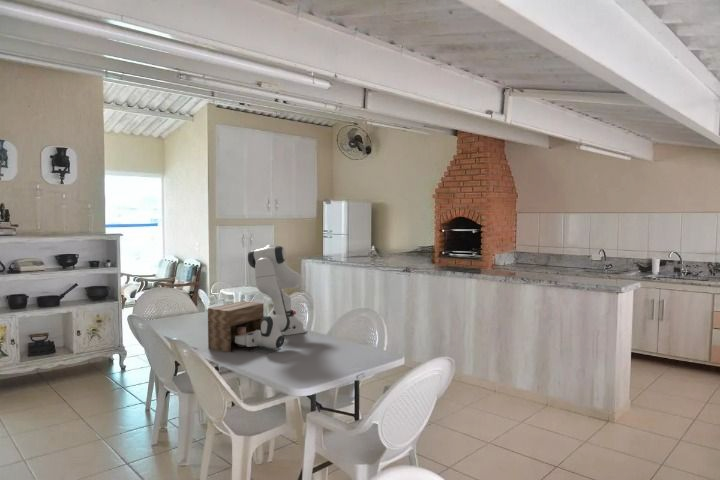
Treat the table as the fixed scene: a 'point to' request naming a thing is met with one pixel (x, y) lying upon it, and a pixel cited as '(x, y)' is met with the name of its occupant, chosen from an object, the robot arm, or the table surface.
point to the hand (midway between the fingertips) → (240, 334)
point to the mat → (264, 350)
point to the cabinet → (232, 322)
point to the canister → (241, 332)
